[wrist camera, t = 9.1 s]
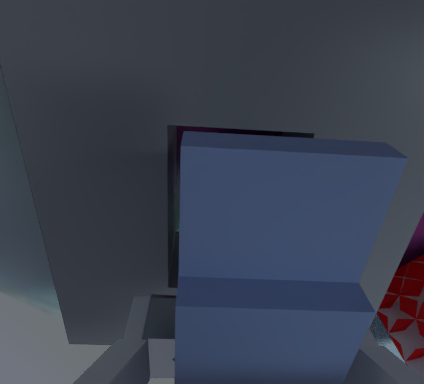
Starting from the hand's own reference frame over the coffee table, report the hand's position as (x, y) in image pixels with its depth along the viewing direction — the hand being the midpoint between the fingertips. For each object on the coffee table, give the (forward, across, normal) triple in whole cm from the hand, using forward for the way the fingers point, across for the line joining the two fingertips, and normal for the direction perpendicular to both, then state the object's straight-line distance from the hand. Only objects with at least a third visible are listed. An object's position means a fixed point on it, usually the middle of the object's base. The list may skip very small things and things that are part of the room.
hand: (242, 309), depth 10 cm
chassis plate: (+10, 0, 0) cm, 10 cm away
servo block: (+4, 0, 0) cm, 4 cm away
